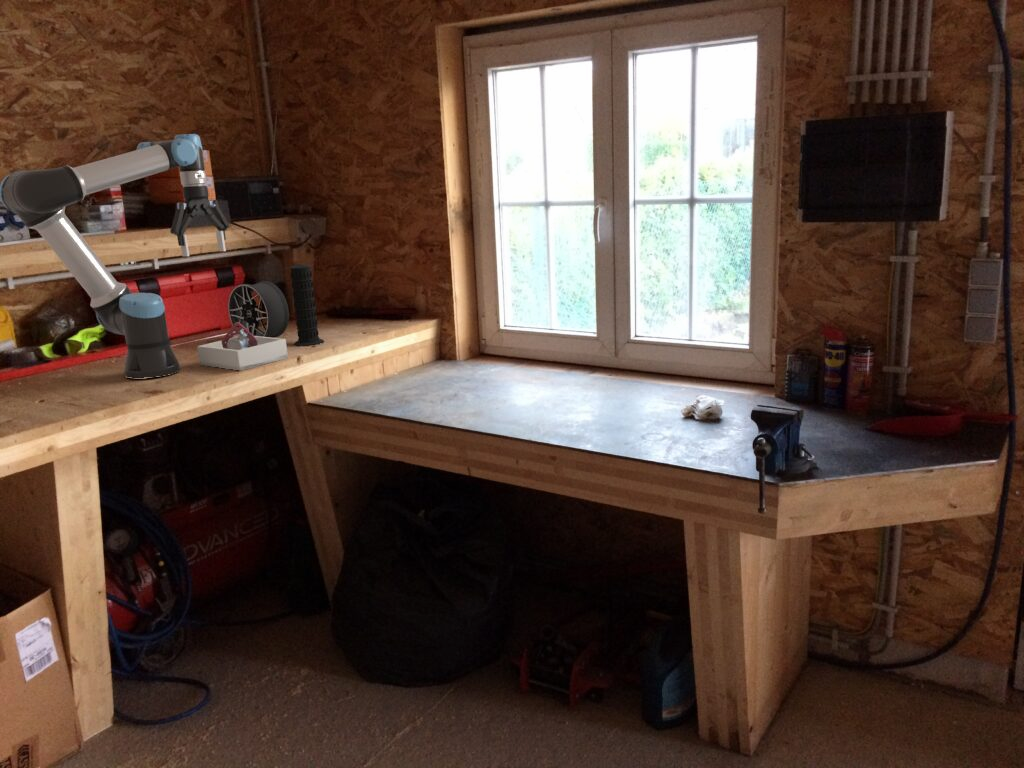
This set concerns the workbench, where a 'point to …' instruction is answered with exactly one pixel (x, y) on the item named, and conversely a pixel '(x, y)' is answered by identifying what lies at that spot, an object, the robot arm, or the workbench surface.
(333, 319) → the workbench surface
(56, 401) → the workbench surface
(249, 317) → the wheel rim
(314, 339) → the handle grip
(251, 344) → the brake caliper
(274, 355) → the bin
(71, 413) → the workbench surface
